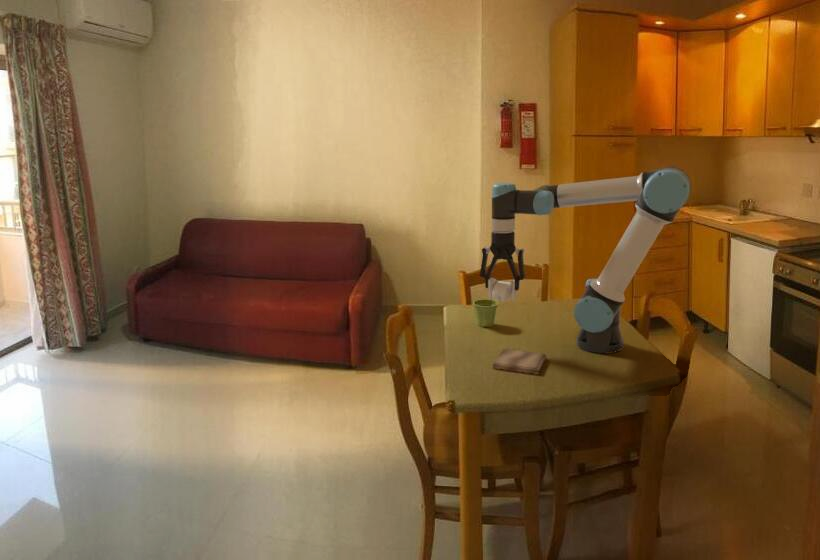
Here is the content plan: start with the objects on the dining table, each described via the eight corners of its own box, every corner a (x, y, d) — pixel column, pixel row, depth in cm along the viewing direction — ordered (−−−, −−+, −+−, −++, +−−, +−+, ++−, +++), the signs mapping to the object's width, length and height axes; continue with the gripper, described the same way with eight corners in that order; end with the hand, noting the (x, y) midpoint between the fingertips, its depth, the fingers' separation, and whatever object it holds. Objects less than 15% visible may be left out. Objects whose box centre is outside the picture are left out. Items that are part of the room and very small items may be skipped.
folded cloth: (546, 358, 203) (546, 353, 203) (538, 374, 191) (538, 369, 190) (503, 352, 208) (503, 348, 208) (492, 368, 196) (493, 363, 195)
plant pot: (485, 330, 230) (486, 307, 228) (467, 324, 237) (467, 302, 235) (503, 325, 236) (503, 302, 234) (484, 319, 243) (485, 297, 241)
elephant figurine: (519, 297, 213) (519, 276, 212) (507, 304, 205) (508, 283, 204) (498, 294, 217) (498, 274, 215) (486, 301, 209) (486, 280, 208)
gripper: (536, 230, 205) (534, 297, 211) (476, 227, 213) (475, 293, 218) (532, 234, 199) (530, 304, 204) (469, 231, 206) (469, 298, 212)
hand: (502, 298), depth 211 cm, fingers closed on elephant figurine, 7 cm apart
